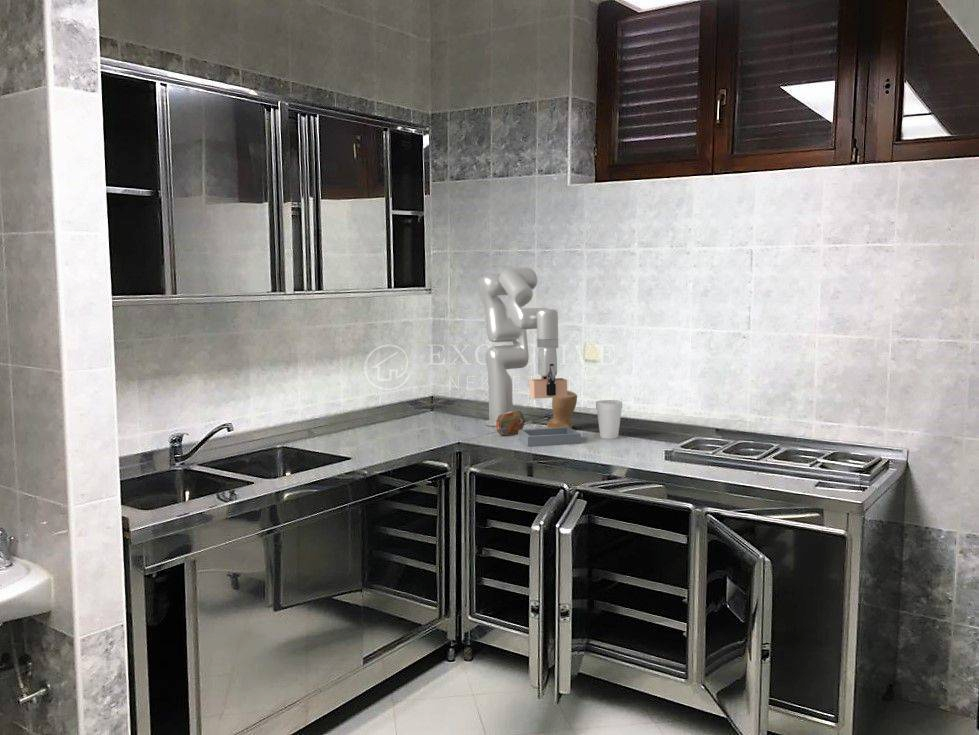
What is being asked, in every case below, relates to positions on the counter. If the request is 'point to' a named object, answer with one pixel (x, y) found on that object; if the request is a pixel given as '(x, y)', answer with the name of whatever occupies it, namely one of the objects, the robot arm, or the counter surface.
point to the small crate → (540, 388)
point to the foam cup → (609, 417)
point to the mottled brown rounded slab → (510, 423)
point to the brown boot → (563, 411)
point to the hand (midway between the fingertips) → (548, 393)
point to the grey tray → (549, 436)
